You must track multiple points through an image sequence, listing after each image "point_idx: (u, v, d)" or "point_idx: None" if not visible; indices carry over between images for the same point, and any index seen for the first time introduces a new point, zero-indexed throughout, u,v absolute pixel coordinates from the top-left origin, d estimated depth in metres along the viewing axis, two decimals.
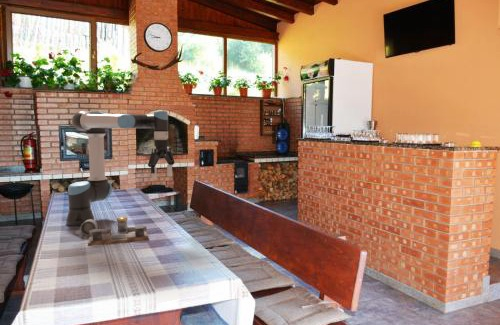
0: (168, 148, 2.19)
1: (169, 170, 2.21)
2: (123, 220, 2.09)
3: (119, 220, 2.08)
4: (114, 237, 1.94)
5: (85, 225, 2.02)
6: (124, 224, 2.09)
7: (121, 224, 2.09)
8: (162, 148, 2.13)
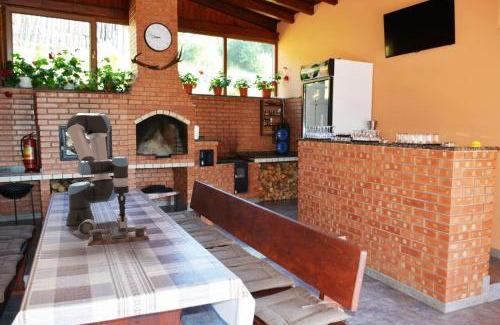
0: None
1: None
2: None
3: (119, 220, 2.08)
4: (114, 237, 1.94)
5: (83, 225, 2.02)
6: None
7: None
8: None
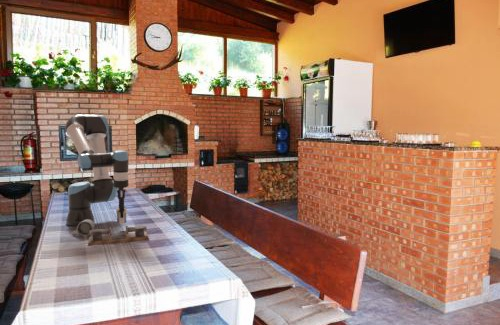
0: None
1: None
2: None
3: (118, 212, 2.08)
4: (114, 237, 1.94)
5: (82, 225, 2.02)
6: None
7: None
8: None
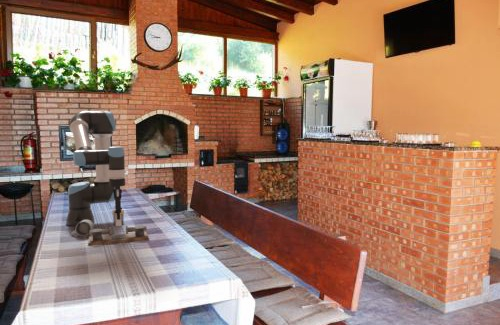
0: None
1: None
2: None
3: None
4: (114, 237, 1.94)
5: (80, 225, 2.02)
6: None
7: None
8: (119, 188, 1.93)
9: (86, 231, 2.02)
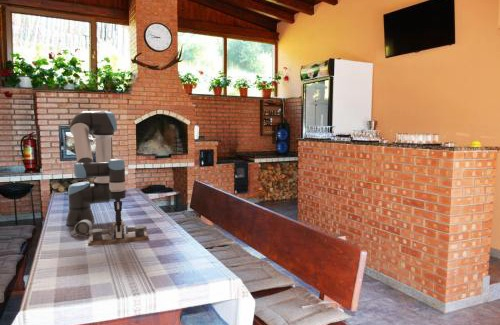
0: None
1: None
2: None
3: None
4: None
5: (79, 225, 2.02)
6: None
7: None
8: None
9: (85, 231, 2.02)
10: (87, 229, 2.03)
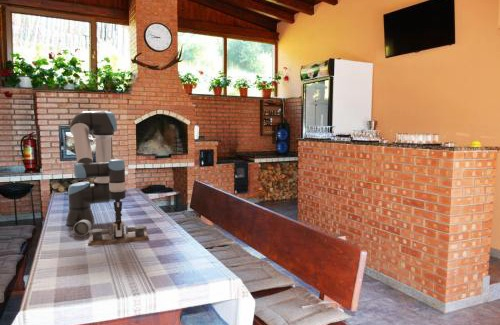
0: None
1: None
2: None
3: (115, 225, 1.92)
4: None
5: (78, 225, 2.01)
6: None
7: None
8: None
9: (84, 231, 2.02)
10: (86, 229, 2.02)
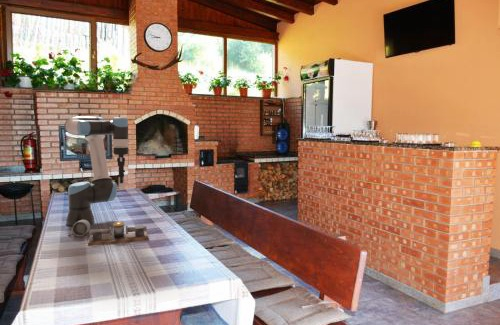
0: None
1: None
2: (120, 225, 1.93)
3: (115, 225, 1.92)
4: None
5: (77, 226, 2.01)
6: (121, 229, 1.93)
7: (117, 229, 1.93)
8: None
9: (83, 231, 2.02)
10: (85, 229, 2.02)
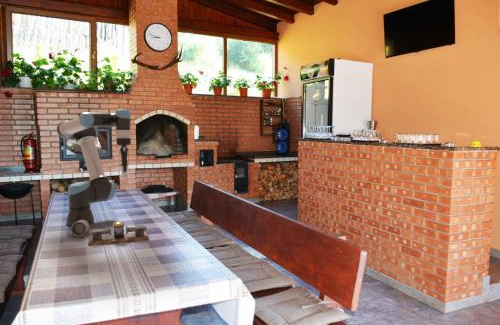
0: None
1: None
2: (120, 225, 1.93)
3: (115, 225, 1.92)
4: None
5: (76, 226, 2.01)
6: (121, 229, 1.94)
7: (117, 229, 1.93)
8: None
9: (81, 231, 2.02)
10: (83, 229, 2.02)
